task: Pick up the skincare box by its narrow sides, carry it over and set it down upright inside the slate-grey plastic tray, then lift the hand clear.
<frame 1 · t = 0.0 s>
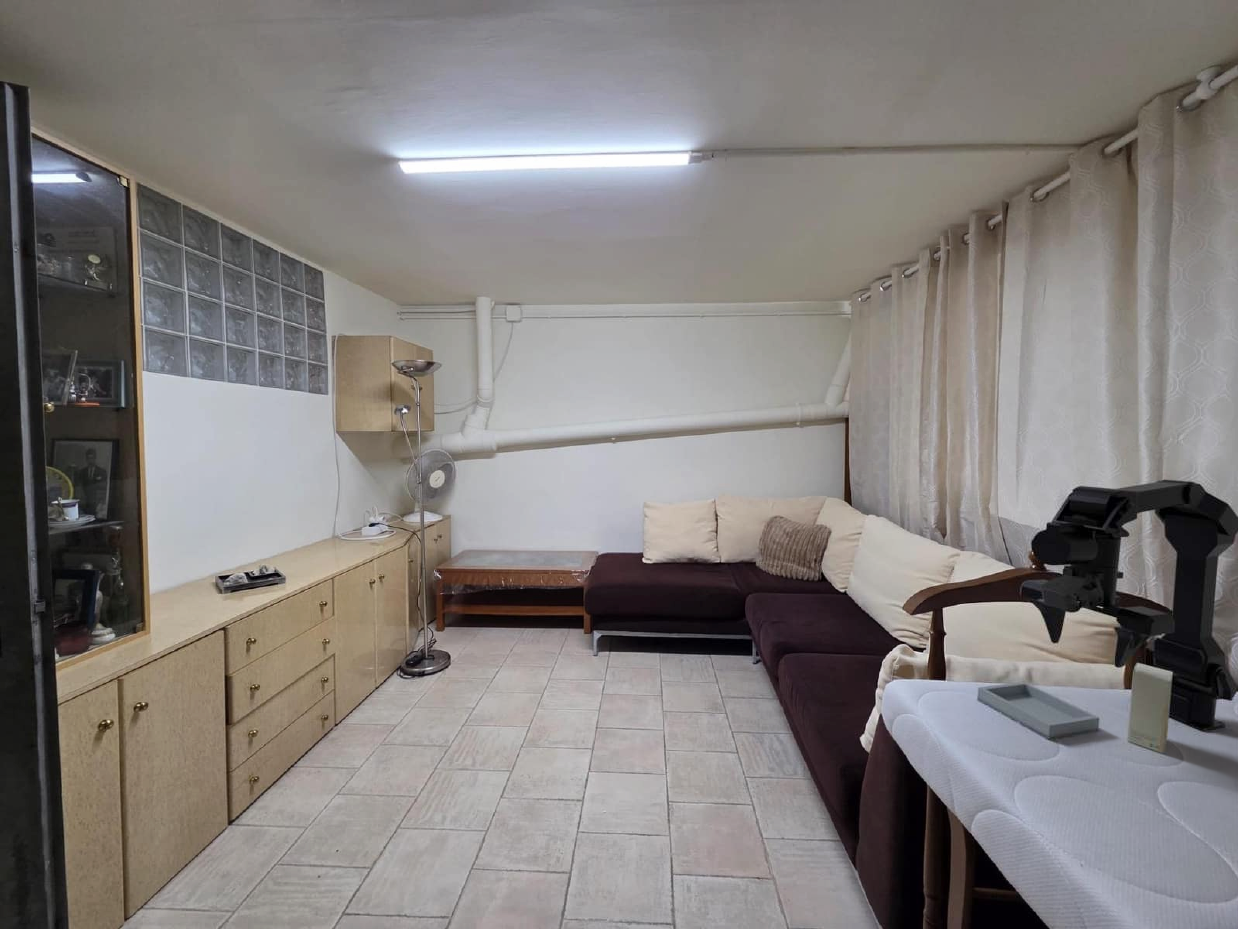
hand: (1085, 654, 83), 15 cm above the table, fingers open, 9 cm apart
skincare box: (1145, 742, 84), on the table
sorting tray: (1034, 715, 91), on the table
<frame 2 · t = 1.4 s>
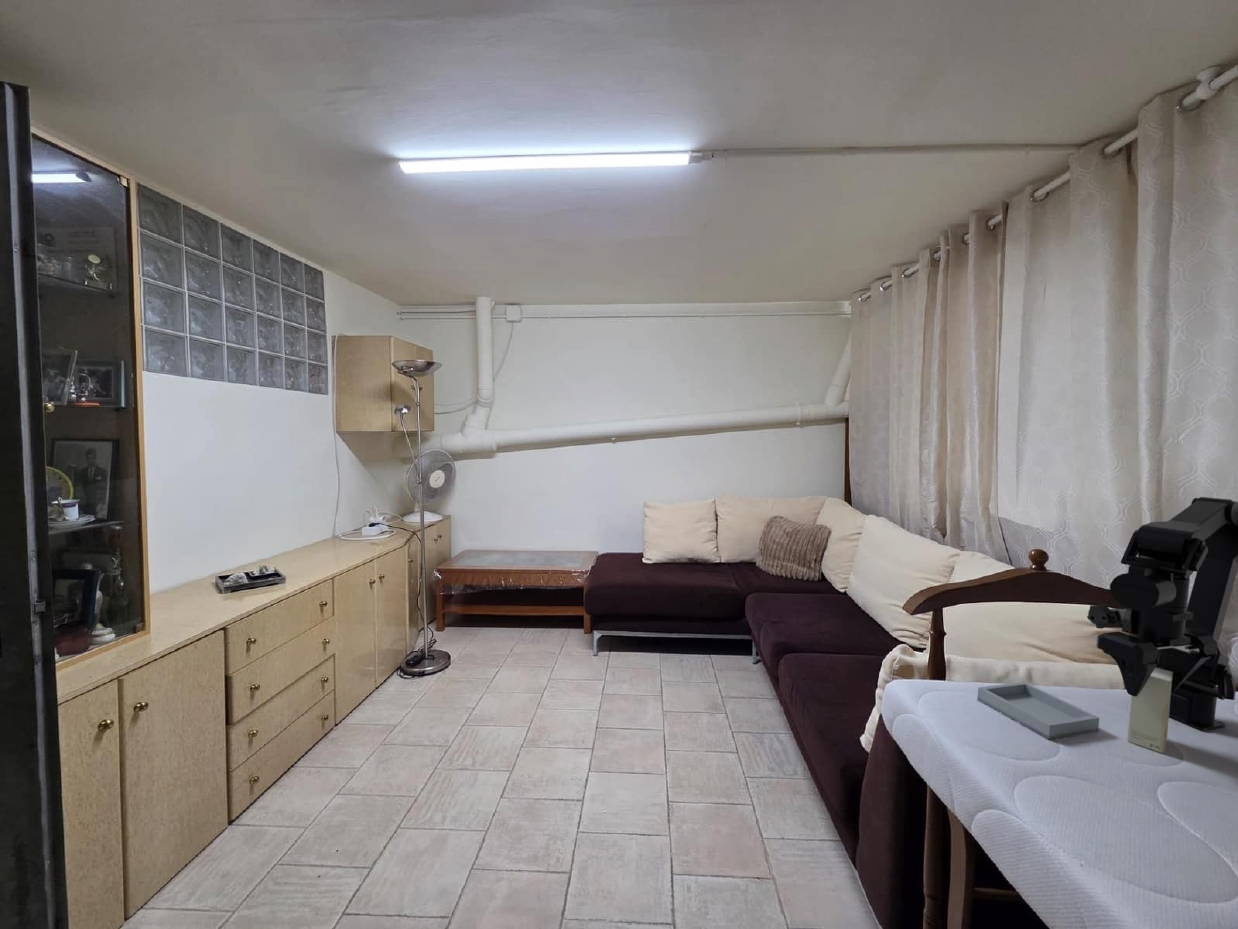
hand: (1151, 692, 84), 8 cm above the table, fingers open, 9 cm apart
nothing on the table moved.
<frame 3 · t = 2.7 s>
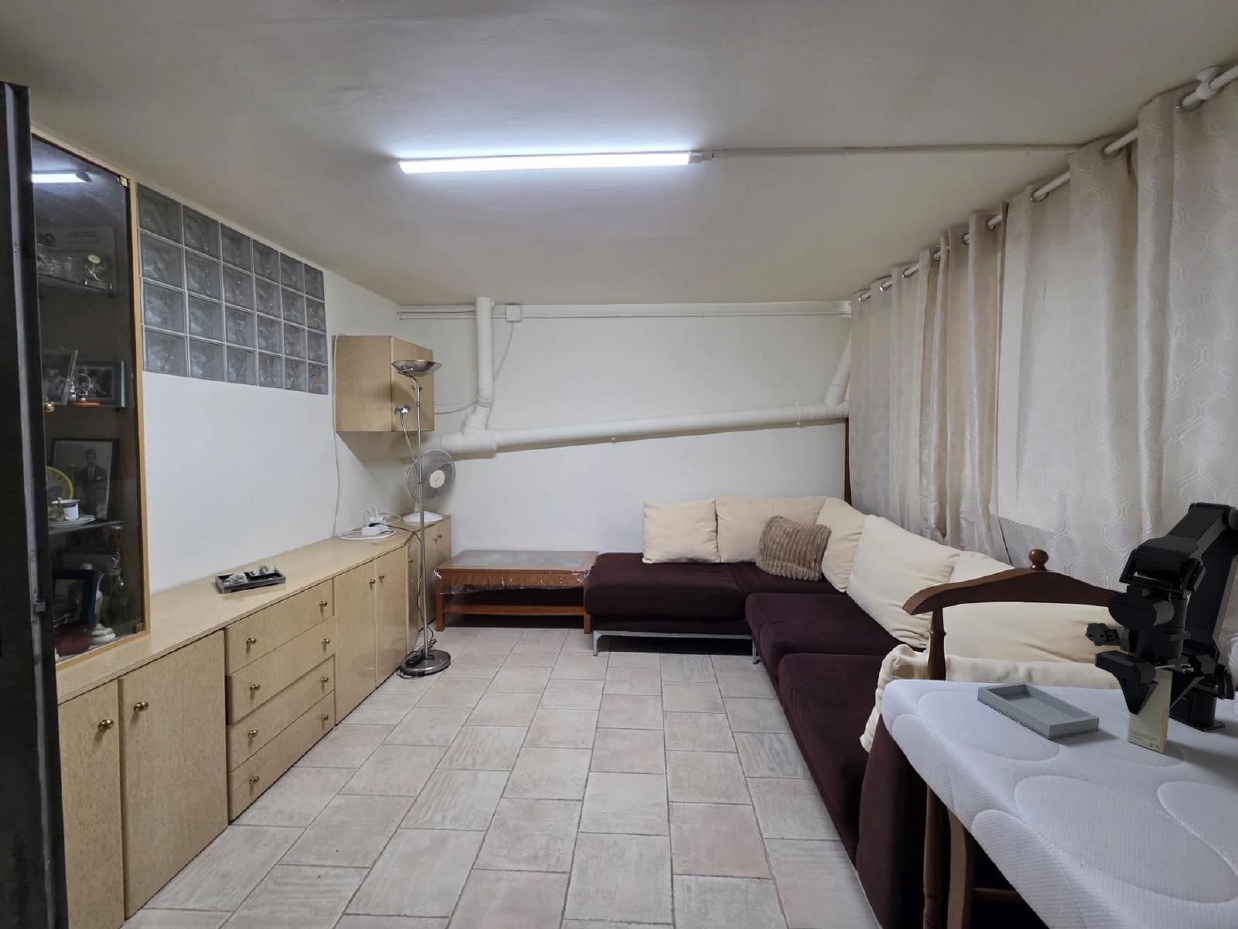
hand: (1149, 711, 84), 5 cm above the table, fingers closed on skincare box, 7 cm apart
skincare box: (1145, 742, 84), on the table, touching gripper
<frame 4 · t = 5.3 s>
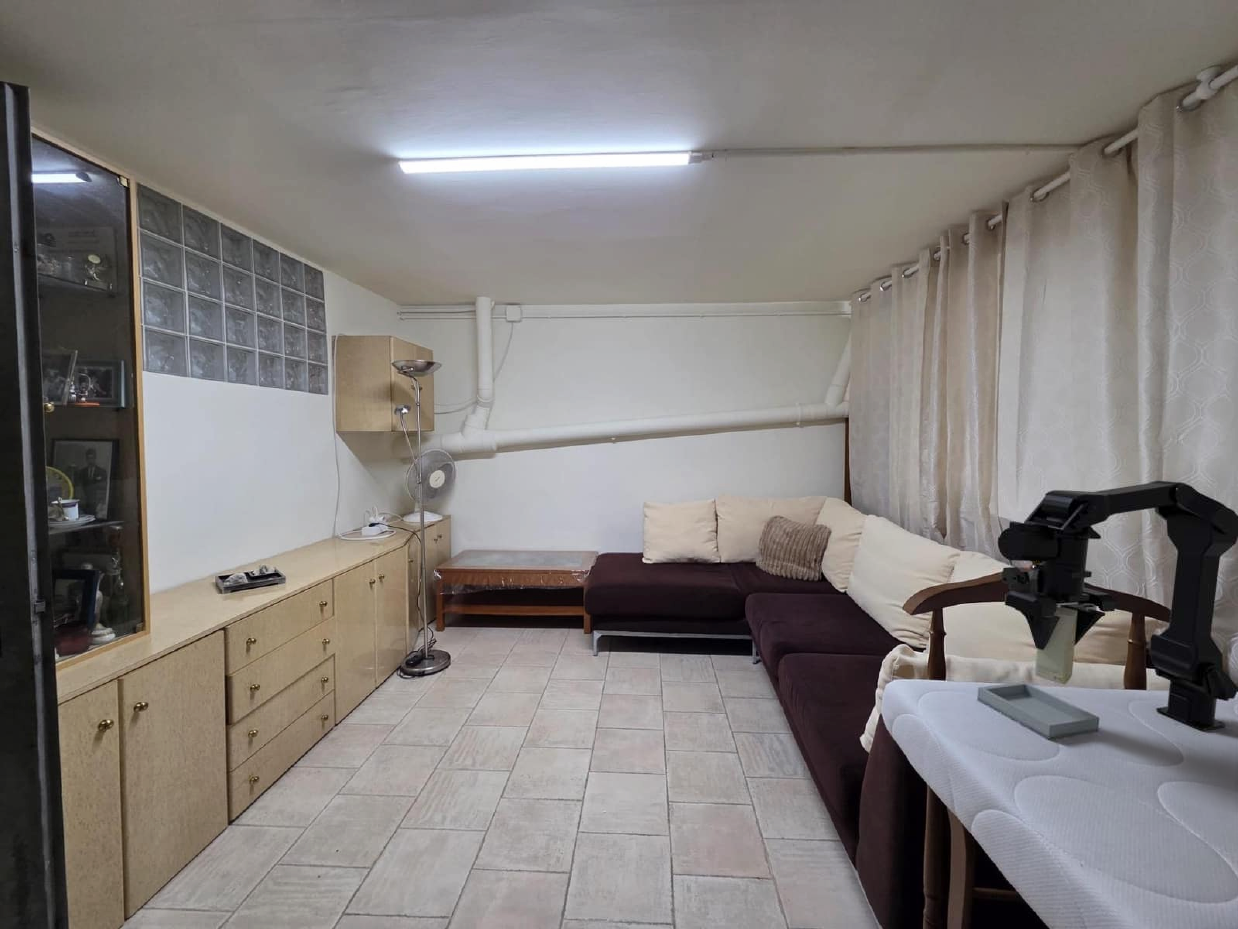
hand: (1055, 647, 89), 13 cm above the table, fingers closed on skincare box, 7 cm apart
skincare box: (1052, 676, 89), point 8 cm above the table, touching gripper
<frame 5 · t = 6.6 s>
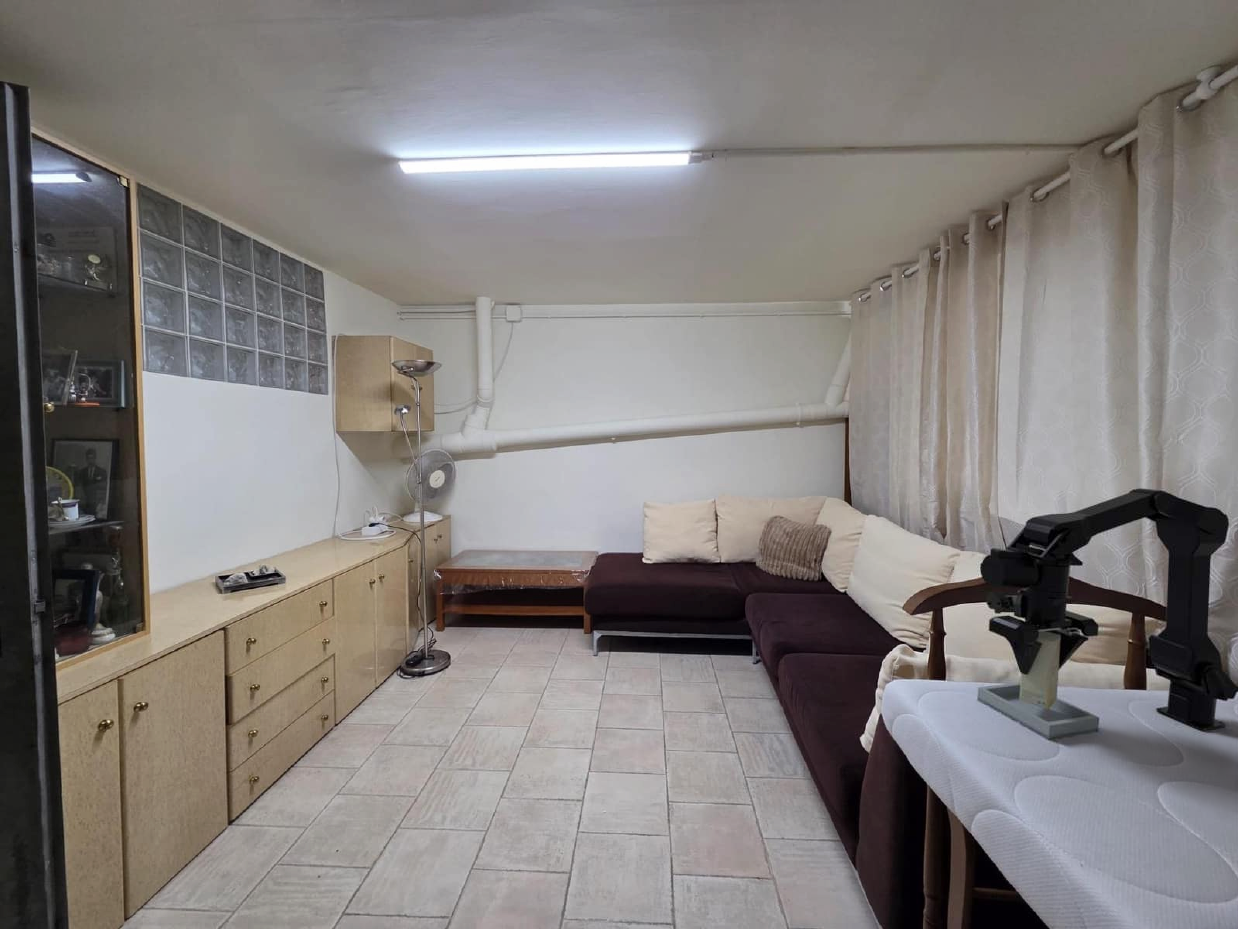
hand: (1039, 671, 90), 8 cm above the table, fingers closed on skincare box, 7 cm apart
skincare box: (1037, 700, 91), point 3 cm above the table, touching gripper
when the fingers open (7 cm above the table, at t = 7.8 s): skincare box drops 1 cm, resting on sorting tray.
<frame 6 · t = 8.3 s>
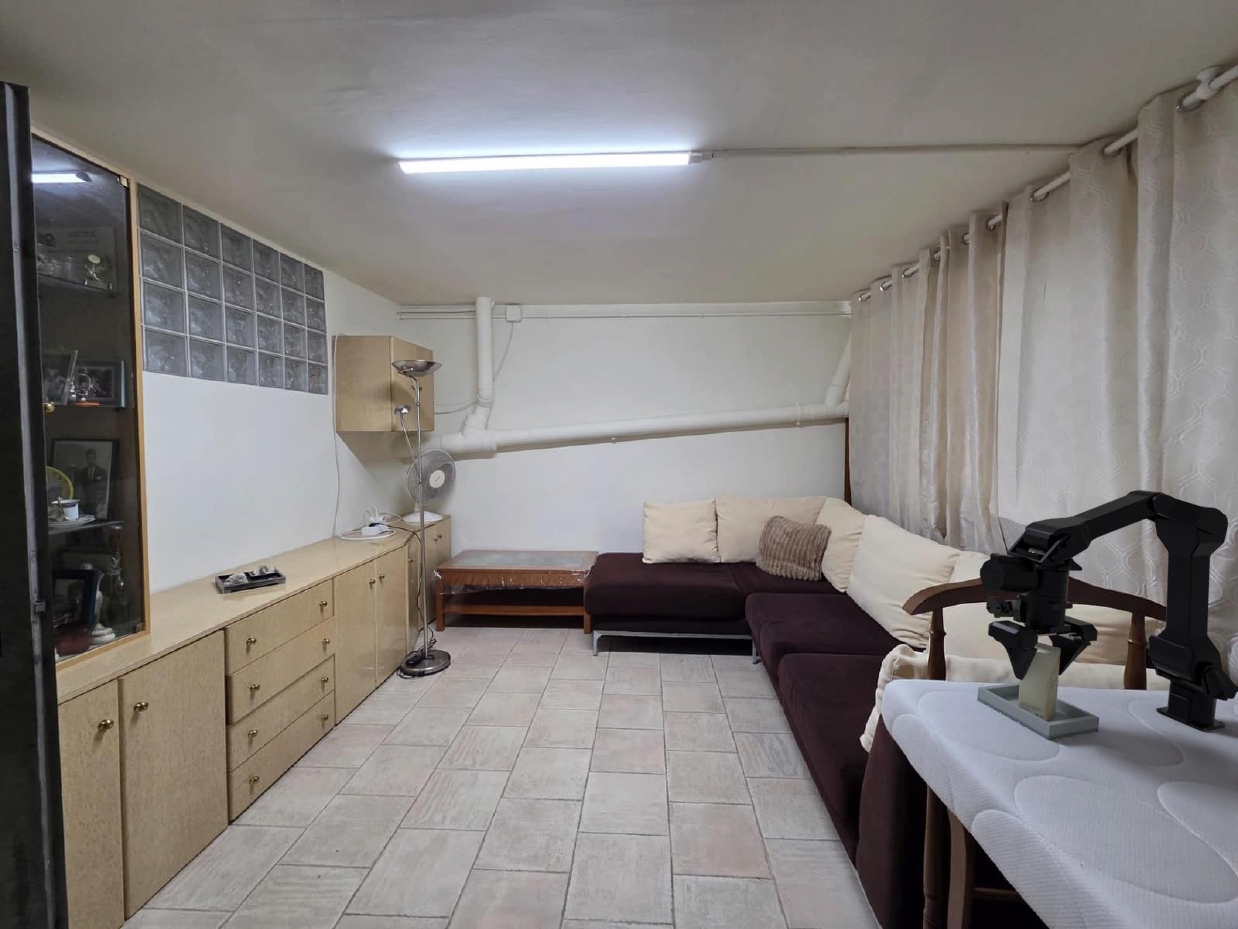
hand: (1038, 676, 90), 7 cm above the table, fingers open, 9 cm apart
skincare box: (1035, 713, 91), resting on sorting tray
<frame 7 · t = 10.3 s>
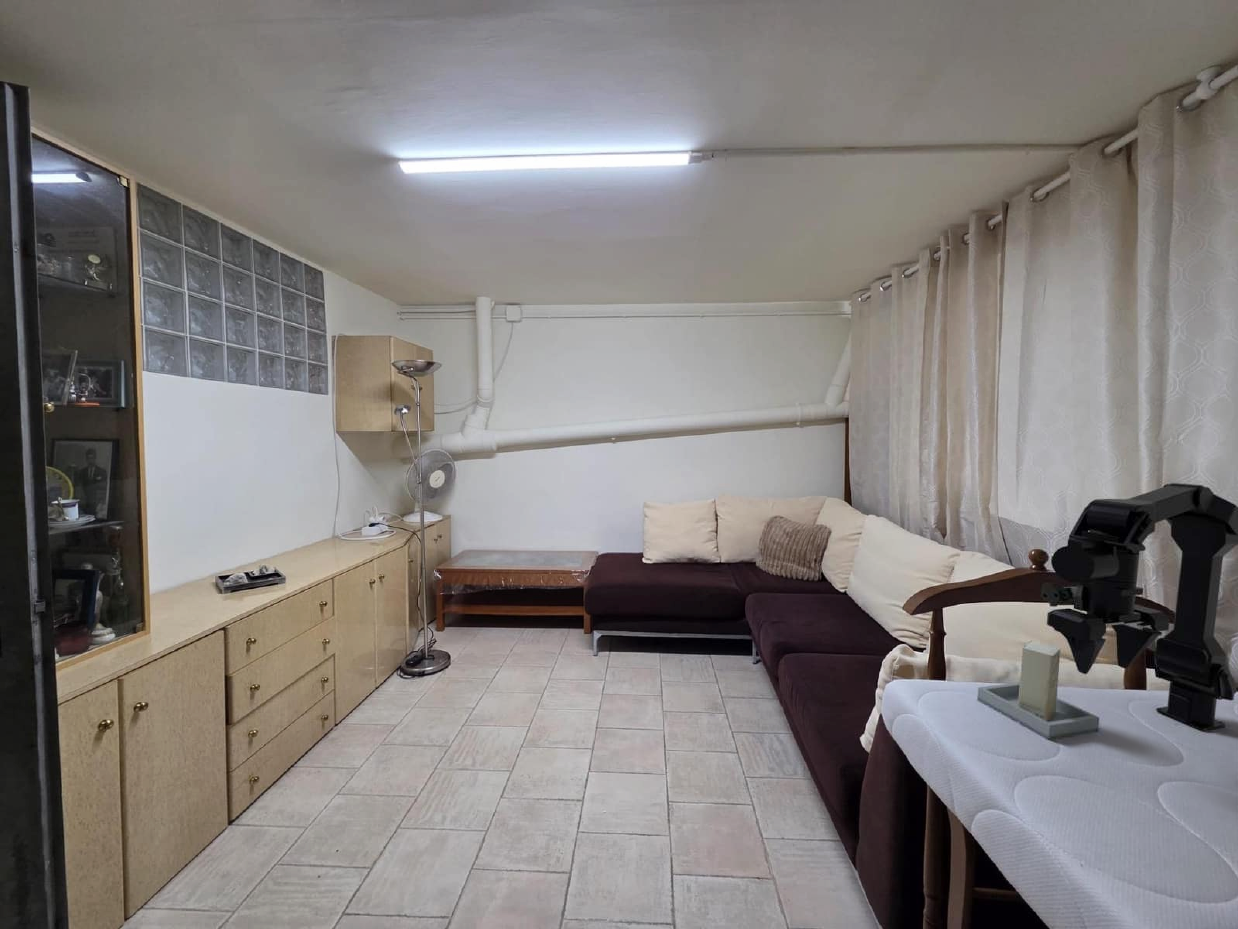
hand: (1102, 670, 82), 13 cm above the table, fingers open, 9 cm apart
nothing on the table moved.
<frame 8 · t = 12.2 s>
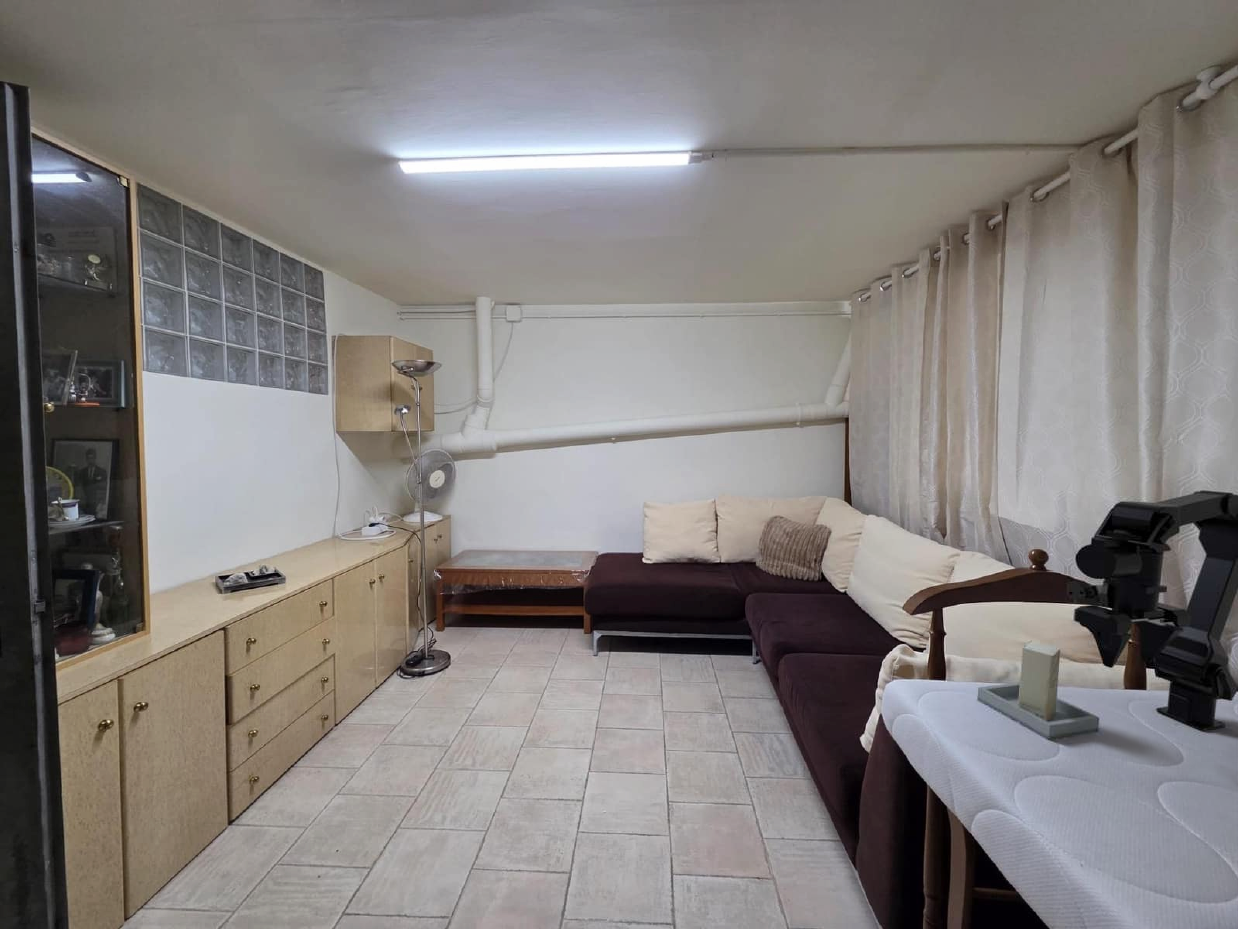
hand: (1126, 664, 86), 12 cm above the table, fingers open, 9 cm apart
nothing on the table moved.
at the end: skincare box inside the target area on the sorting tray (0.1 cm from its centre), point 0.4 cm above the sorting tray's base; skincare box tilted 0°; the gripper is holding nothing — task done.
